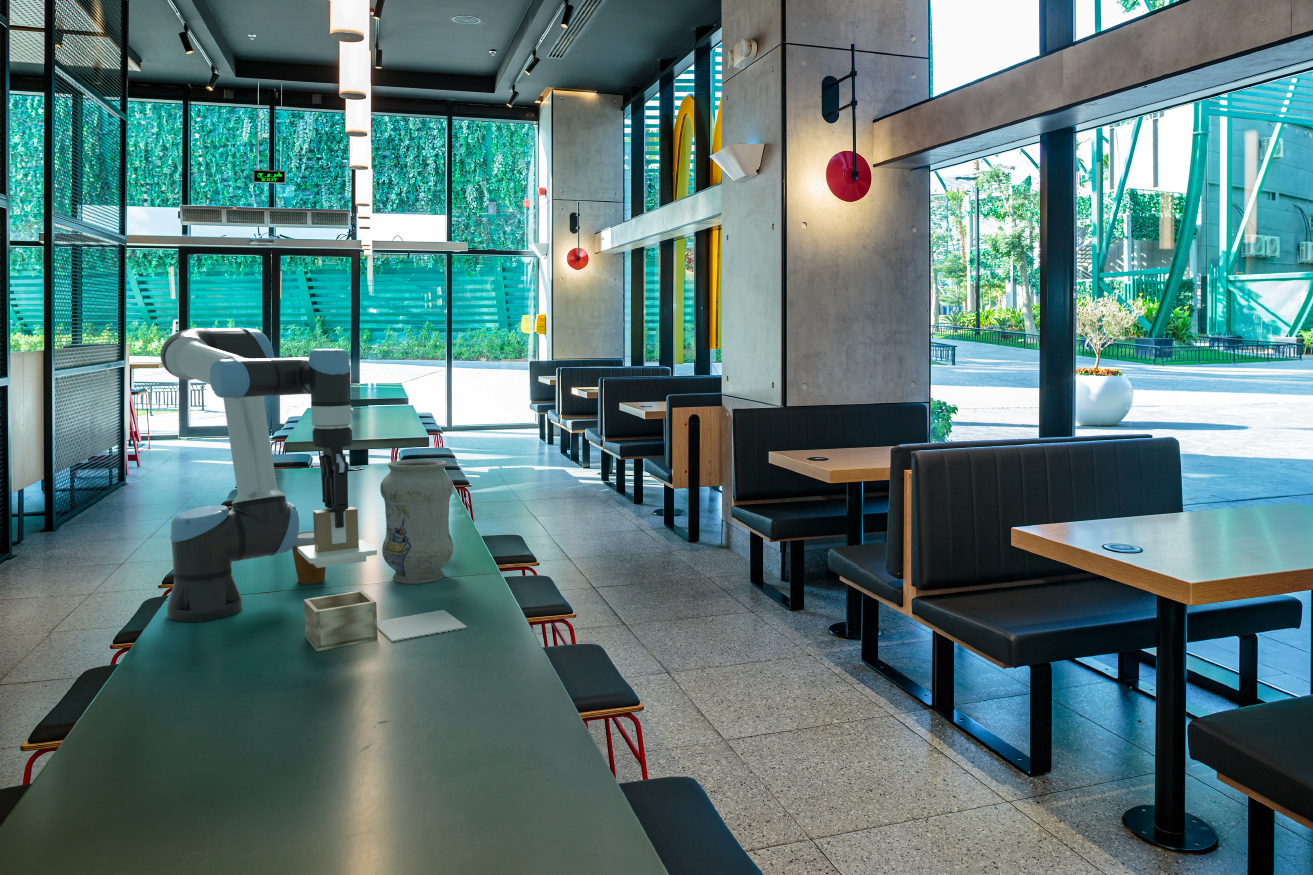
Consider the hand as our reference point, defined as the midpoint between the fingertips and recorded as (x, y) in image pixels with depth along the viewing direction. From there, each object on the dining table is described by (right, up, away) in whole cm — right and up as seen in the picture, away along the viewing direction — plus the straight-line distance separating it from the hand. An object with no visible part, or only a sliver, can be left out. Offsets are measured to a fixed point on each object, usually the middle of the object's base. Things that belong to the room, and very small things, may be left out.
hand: (336, 540), depth 187 cm
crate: (0, -20, +2) cm, 20 cm away
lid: (0, -4, +1) cm, 4 cm away
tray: (+14, -19, +10) cm, 26 cm away
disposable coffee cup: (-22, -15, +46) cm, 53 cm away
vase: (+4, -15, +49) cm, 51 cm away
